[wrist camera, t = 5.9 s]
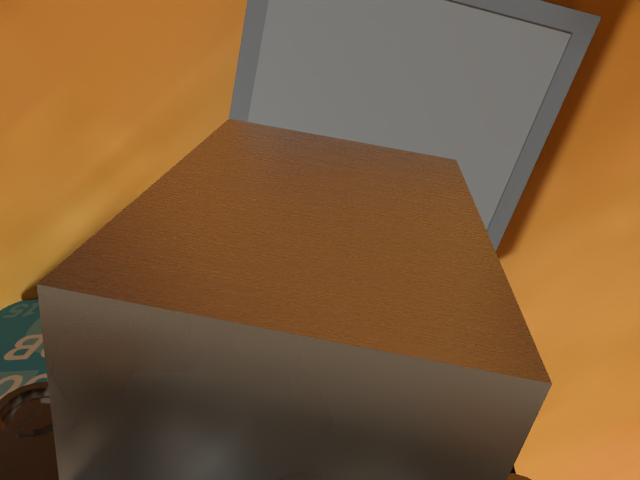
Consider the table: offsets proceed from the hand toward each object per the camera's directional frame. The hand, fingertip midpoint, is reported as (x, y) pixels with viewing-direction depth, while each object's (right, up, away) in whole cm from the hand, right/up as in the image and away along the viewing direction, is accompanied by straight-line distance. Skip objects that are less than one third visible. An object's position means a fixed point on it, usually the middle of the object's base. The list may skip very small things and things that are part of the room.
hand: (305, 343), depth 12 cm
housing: (0, +1, +1) cm, 2 cm away
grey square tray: (+4, +9, +18) cm, 20 cm away
